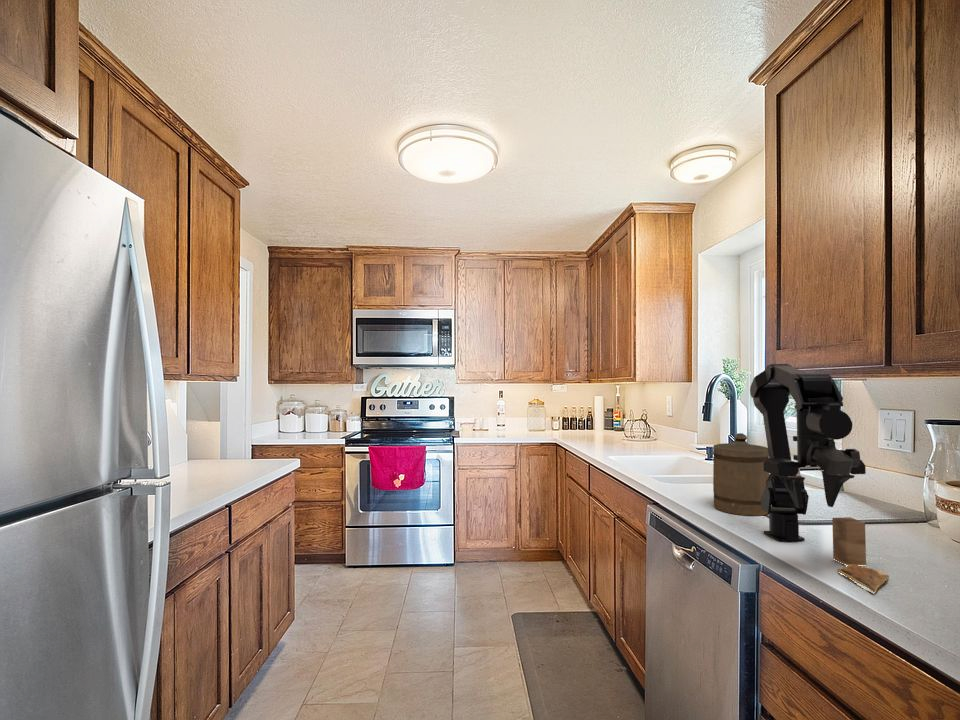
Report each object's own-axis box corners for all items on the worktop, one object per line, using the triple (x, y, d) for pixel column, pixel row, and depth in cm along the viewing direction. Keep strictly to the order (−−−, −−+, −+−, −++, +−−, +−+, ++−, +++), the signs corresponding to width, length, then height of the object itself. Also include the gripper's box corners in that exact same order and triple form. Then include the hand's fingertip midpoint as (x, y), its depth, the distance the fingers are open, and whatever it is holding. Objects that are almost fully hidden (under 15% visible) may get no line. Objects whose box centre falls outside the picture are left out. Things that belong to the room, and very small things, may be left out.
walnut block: (833, 560, 110) (832, 517, 111) (851, 559, 111) (850, 517, 111) (847, 567, 106) (846, 523, 107) (866, 566, 107) (865, 522, 107)
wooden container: (754, 502, 158) (752, 430, 158) (781, 516, 143) (779, 436, 143) (705, 502, 158) (704, 430, 158) (727, 516, 143) (726, 437, 144)
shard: (874, 598, 93) (874, 588, 93) (825, 585, 99) (825, 575, 99) (891, 582, 100) (891, 572, 100) (845, 570, 106) (844, 561, 106)
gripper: (796, 439, 100) (797, 520, 100) (887, 437, 101) (889, 517, 101) (761, 431, 111) (762, 504, 111) (843, 430, 112) (845, 502, 112)
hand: (814, 507), depth 108 cm, fingers open, 7 cm apart
